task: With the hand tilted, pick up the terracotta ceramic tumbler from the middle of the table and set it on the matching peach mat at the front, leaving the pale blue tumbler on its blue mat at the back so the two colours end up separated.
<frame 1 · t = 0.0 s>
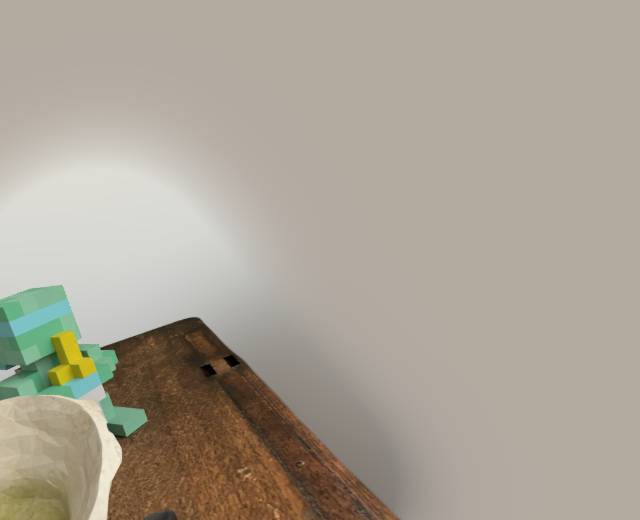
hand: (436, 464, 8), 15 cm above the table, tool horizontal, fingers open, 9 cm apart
toy: (78, 451, 42), on the table
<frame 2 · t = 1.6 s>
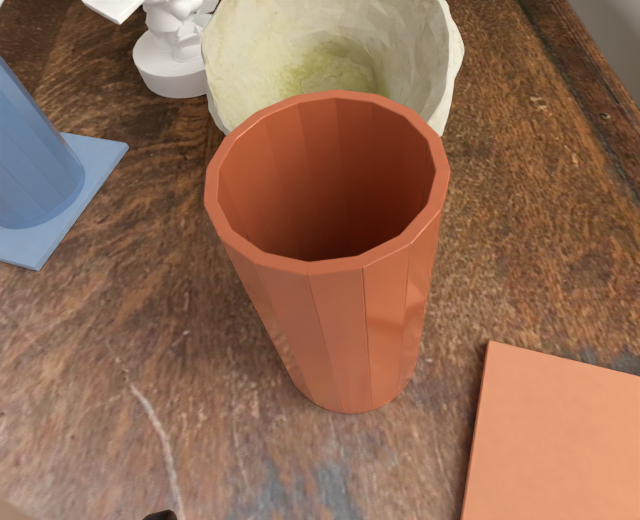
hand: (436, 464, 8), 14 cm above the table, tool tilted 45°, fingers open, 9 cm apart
blue cup: (37, 189, 32), resting on blue mat
peach mat: (581, 490, 19), on the table
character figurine: (188, 70, 39), on the table
bowl: (338, 145, 32), on the table
blue mat: (41, 194, 32), on the table
terracotta cup: (350, 346, 24), on the table
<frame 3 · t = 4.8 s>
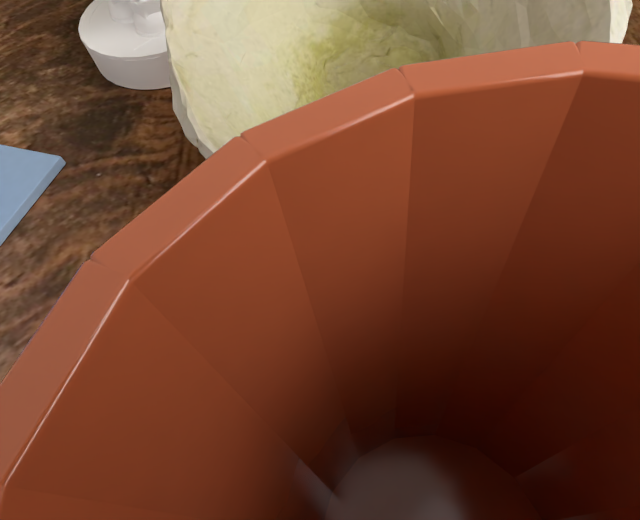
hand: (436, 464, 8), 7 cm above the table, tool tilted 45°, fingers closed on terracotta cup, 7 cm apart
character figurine: (160, 50, 27), on the table
bowl: (381, 163, 21), on the table
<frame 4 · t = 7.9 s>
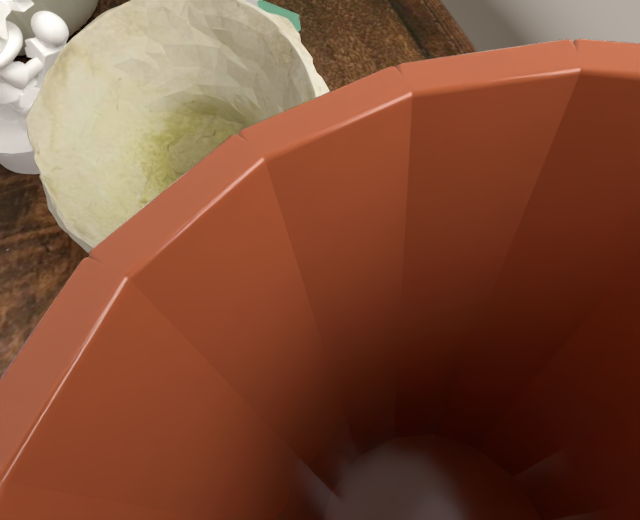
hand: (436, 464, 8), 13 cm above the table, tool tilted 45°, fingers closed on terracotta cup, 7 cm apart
toy: (225, 50, 37), on the table
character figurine: (48, 136, 34), on the table
bowl: (223, 213, 28), on the table
canister: (38, 24, 42), on the table
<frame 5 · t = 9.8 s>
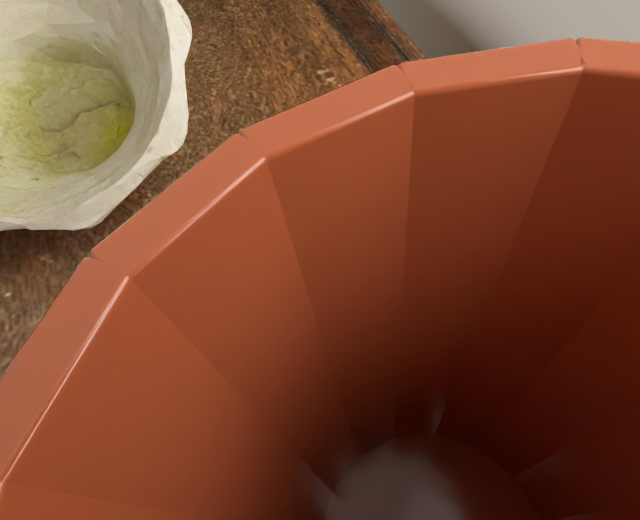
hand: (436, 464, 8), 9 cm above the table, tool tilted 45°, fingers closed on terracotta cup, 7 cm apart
bowl: (102, 170, 26), on the table
when the fingers open (7 cm above the table, at t = 11.1 s): terracotta cup stays where it is, resting on peach mat.
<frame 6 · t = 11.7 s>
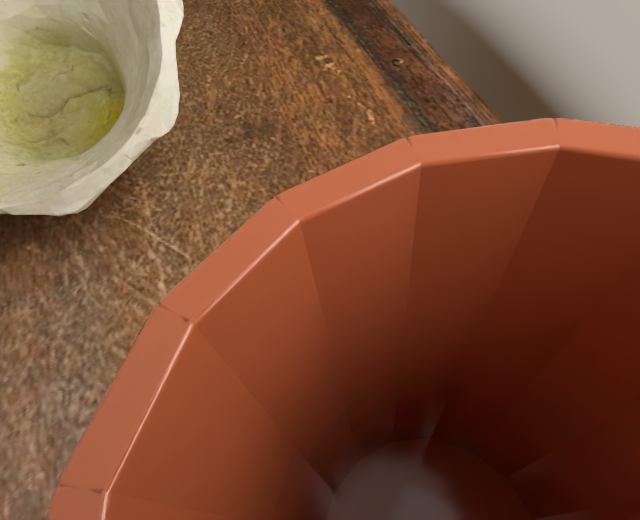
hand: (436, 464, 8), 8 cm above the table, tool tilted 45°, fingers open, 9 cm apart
bowl: (92, 158, 25), on the table
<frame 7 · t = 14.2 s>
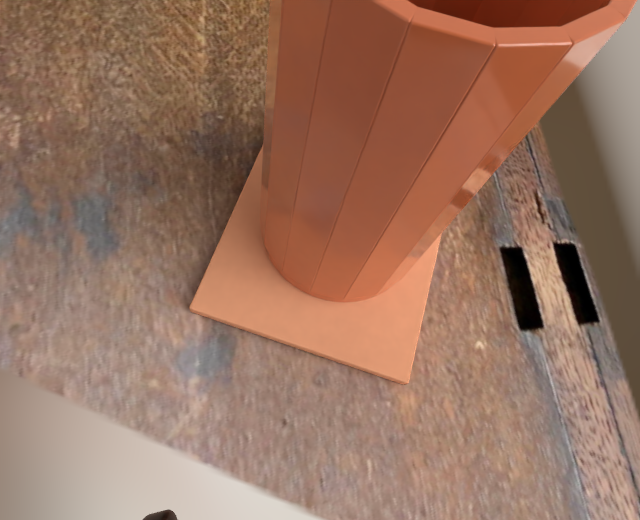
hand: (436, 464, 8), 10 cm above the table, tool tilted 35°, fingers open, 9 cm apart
peach mat: (336, 232, 21), on the table
terracotta cup: (339, 228, 20), resting on peach mat
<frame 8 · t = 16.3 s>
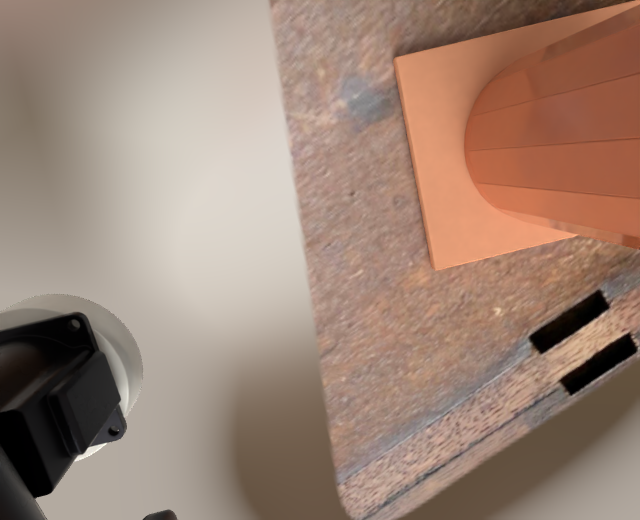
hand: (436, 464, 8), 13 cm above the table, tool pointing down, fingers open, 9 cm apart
peach mat: (536, 139, 20), on the table
terracotta cup: (542, 140, 19), resting on peach mat
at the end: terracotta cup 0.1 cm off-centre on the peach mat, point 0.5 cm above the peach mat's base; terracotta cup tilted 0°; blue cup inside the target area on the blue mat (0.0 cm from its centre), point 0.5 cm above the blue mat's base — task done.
